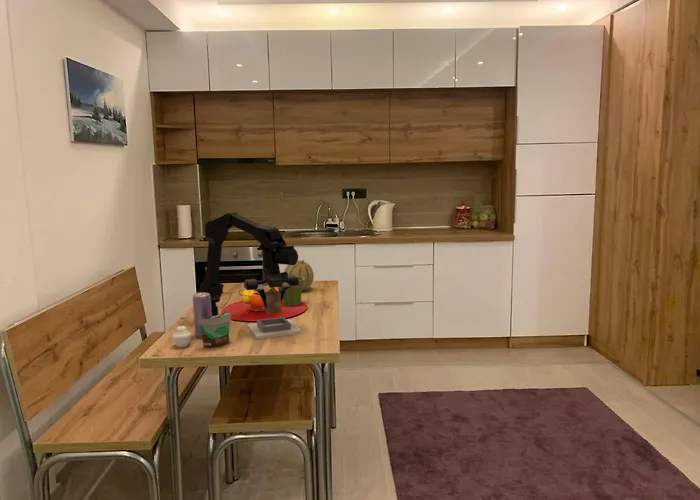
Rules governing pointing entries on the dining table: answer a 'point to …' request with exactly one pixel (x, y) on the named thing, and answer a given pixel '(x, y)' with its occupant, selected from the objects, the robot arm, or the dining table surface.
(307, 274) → the cantaloupe
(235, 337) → the dining table surface
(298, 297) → the plant pot
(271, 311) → the walnut peg
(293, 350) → the dining table surface
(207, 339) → the food container
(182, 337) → the white lidded jar
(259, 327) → the socket base
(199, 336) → the beverage can
